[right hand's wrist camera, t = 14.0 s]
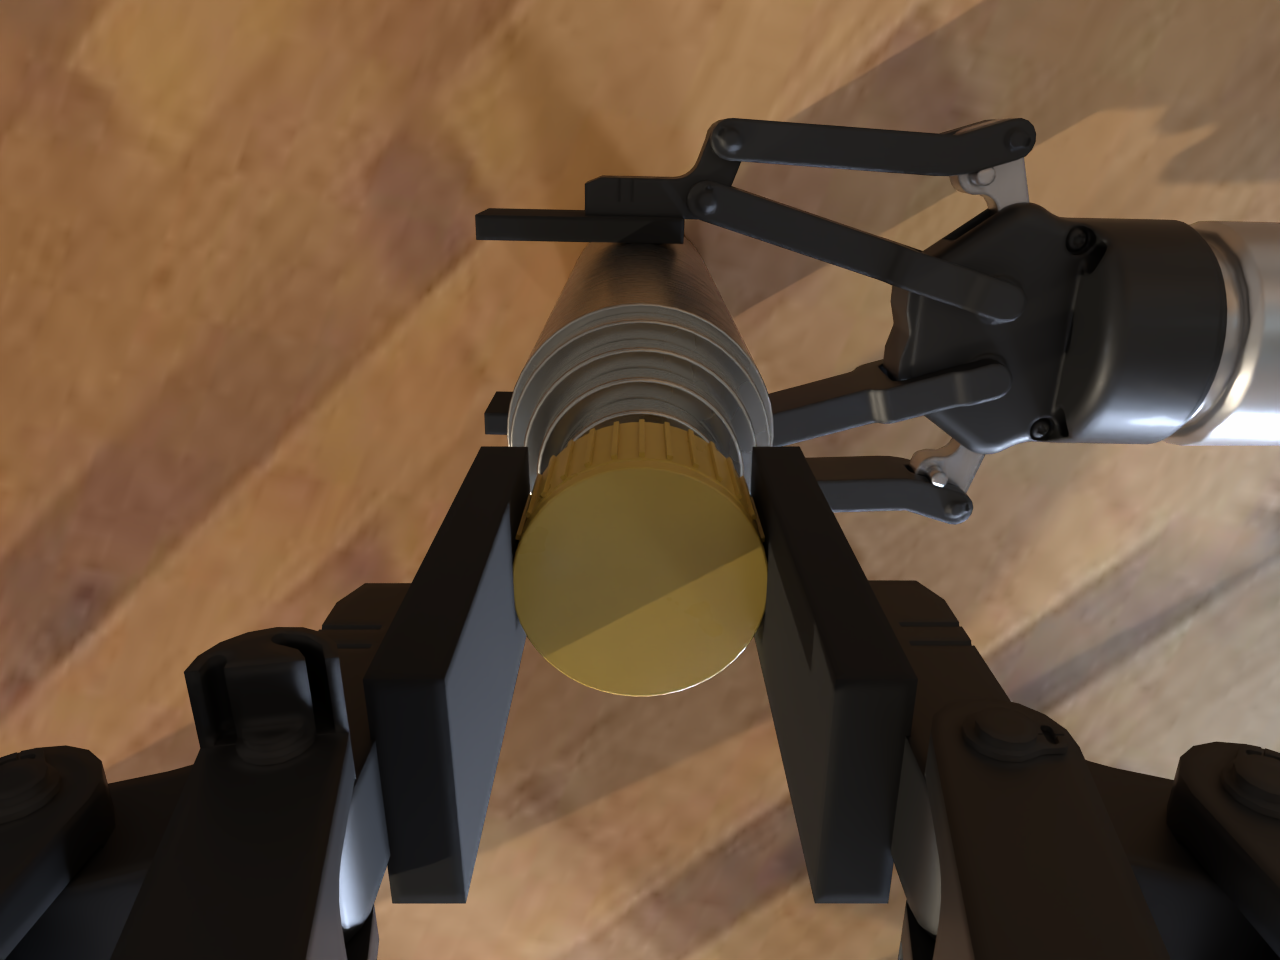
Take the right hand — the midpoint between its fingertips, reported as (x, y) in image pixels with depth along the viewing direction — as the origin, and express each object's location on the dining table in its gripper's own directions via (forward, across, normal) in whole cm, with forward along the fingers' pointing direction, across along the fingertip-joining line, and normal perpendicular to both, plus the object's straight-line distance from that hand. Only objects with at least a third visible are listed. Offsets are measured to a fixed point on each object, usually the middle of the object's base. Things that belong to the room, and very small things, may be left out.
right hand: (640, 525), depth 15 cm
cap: (-2, 0, 0) cm, 2 cm away
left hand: (+17, -5, 0) cm, 17 cm away
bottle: (+23, 0, 0) cm, 23 cm away
